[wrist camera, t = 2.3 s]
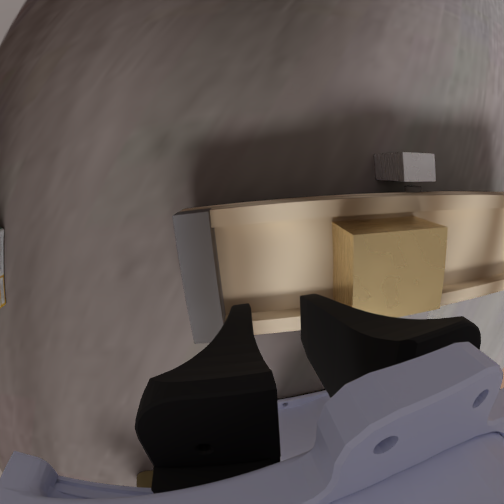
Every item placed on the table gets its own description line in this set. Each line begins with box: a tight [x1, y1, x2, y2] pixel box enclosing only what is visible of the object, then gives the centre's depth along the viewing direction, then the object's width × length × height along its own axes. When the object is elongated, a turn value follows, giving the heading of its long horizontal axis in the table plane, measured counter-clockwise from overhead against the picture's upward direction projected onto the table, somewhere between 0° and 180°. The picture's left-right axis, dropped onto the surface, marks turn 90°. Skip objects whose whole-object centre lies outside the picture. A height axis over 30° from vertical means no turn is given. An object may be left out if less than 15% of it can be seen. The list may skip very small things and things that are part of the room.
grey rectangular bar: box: [374, 152, 436, 319], centre depth 21 cm, size 3×14×4 cm, turn 5°
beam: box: [172, 186, 504, 344], centre depth 19 cm, size 31×9×4 cm, turn 95°
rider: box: [332, 216, 448, 318], centre depth 17 cm, size 6×5×4 cm
